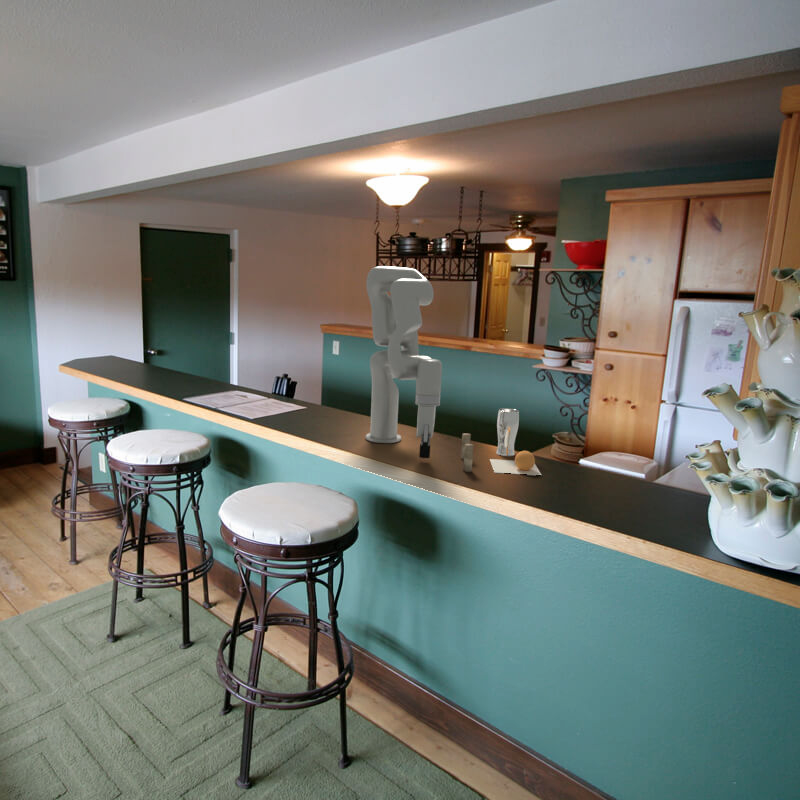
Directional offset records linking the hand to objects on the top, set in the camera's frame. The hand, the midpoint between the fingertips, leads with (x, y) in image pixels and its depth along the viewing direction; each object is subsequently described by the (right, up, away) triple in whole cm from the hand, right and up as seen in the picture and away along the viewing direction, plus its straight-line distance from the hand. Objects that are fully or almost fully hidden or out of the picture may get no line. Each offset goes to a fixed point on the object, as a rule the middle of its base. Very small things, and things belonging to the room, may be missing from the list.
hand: (424, 457), depth 177 cm
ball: (+30, -1, -4) cm, 31 cm away
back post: (+13, -1, +6) cm, 15 cm away
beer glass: (+28, -1, +14) cm, 31 cm away
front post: (+13, -3, -7) cm, 15 cm away
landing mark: (+28, -3, -1) cm, 28 cm away
